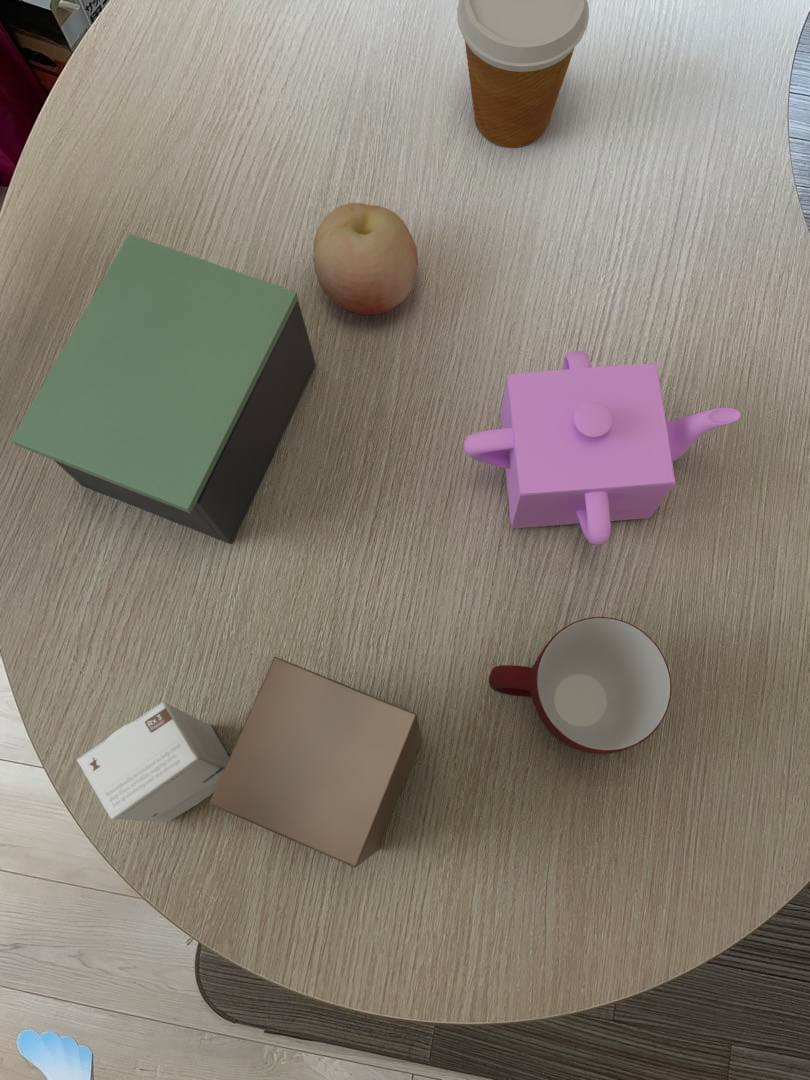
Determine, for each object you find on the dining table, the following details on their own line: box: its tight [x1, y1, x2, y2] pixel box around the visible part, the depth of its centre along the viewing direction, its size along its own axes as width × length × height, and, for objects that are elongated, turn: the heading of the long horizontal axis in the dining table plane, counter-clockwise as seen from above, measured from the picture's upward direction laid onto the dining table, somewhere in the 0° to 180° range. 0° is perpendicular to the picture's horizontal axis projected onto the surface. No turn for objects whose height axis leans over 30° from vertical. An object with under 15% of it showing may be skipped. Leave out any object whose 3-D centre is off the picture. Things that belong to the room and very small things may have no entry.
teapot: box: [463, 350, 741, 546], centre depth 65 cm, size 18×14×10 cm
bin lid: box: [11, 233, 299, 513], centre depth 62 cm, size 16×13×1 cm
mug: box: [488, 616, 672, 755], centre depth 61 cm, size 10×8×10 cm
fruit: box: [313, 202, 419, 315], centre depth 71 cm, size 8×8×8 cm
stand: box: [209, 656, 423, 868], centre depth 56 cm, size 8×8×18 cm
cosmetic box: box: [76, 701, 230, 823], centre depth 59 cm, size 6×4×12 cm
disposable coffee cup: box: [456, 0, 590, 148], centre depth 73 cm, size 10×10×12 cm
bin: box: [53, 299, 317, 545], centre depth 67 cm, size 16×13×10 cm
